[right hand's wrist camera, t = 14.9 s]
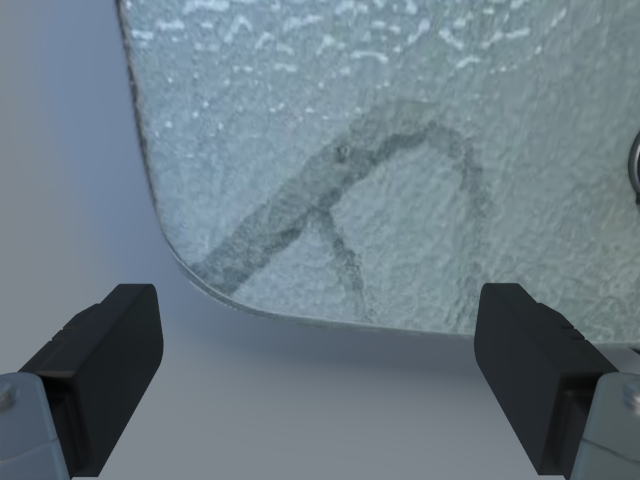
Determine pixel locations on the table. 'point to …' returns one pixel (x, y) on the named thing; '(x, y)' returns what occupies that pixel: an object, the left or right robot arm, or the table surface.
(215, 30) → the table surface
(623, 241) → the table surface
